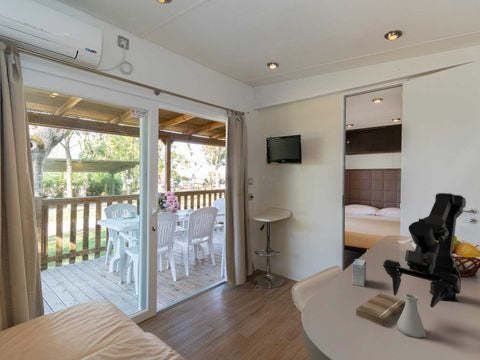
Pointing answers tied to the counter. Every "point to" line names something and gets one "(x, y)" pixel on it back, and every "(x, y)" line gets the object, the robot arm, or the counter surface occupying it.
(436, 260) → the robot arm
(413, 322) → the flask
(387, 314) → the walnut board
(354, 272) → the medicine box
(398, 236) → the counter surface
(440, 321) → the counter surface
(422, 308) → the counter surface
